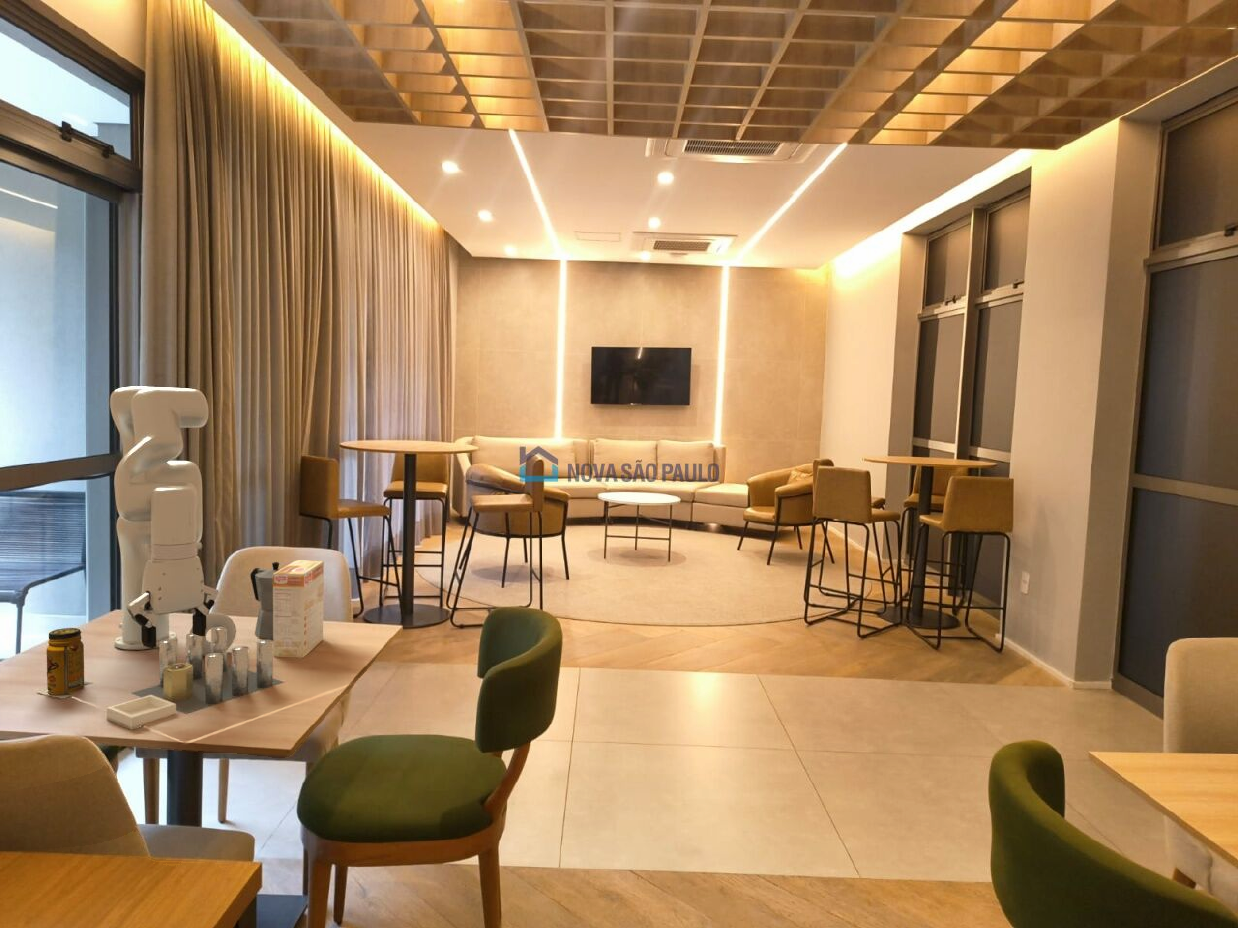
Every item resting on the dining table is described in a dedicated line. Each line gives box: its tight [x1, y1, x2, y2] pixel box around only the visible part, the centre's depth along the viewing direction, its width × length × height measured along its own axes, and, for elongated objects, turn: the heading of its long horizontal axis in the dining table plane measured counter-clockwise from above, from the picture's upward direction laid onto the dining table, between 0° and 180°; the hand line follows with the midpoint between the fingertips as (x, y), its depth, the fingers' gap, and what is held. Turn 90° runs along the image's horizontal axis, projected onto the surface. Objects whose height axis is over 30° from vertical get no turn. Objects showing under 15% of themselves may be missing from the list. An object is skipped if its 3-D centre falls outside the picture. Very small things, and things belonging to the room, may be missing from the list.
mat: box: [131, 664, 284, 715], centre depth 164 cm, size 18×21×1 cm
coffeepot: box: [249, 561, 281, 640], centre depth 202 cm, size 15×9×18 cm, turn 62°
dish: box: [106, 695, 177, 731], centre depth 149 cm, size 8×8×2 cm
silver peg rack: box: [159, 627, 274, 705], centre depth 165 cm, size 18×14×9 cm
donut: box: [189, 612, 237, 657], centre depth 184 cm, size 10×4×10 cm, turn 138°
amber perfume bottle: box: [163, 662, 193, 702], centre depth 158 cm, size 4×5×6 cm
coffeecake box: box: [272, 559, 325, 659], centre depth 191 cm, size 15×7×20 cm, turn 2°
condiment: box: [36, 627, 94, 699], centre depth 161 cm, size 7×8×12 cm
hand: (174, 640), depth 156 cm, fingers open, 9 cm apart
